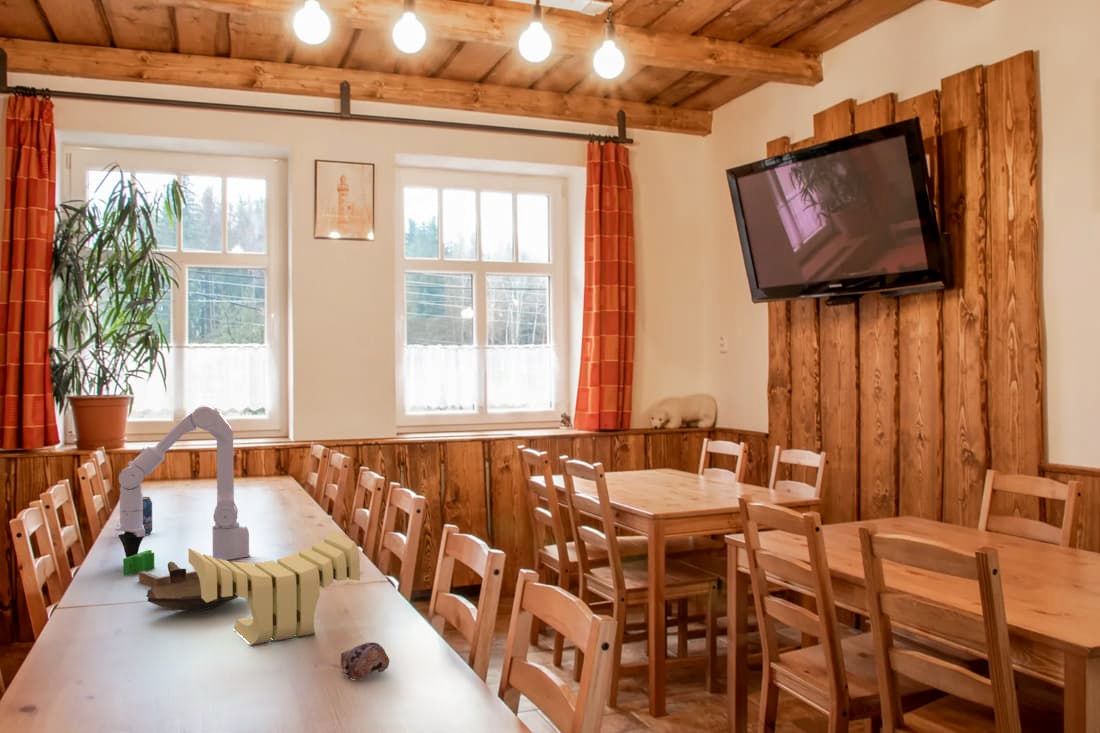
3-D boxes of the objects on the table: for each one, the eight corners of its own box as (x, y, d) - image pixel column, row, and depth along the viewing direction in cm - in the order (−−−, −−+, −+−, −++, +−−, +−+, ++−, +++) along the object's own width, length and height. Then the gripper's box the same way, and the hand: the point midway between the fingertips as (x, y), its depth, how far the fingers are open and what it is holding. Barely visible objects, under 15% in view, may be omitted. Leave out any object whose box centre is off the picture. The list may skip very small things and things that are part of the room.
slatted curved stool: (206, 657, 165) (206, 562, 165) (189, 636, 178) (188, 548, 178) (360, 630, 181) (359, 543, 181) (333, 612, 194) (332, 532, 194)
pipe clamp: (136, 576, 231) (136, 559, 231) (123, 576, 231) (123, 558, 231) (160, 566, 242) (160, 549, 242) (148, 566, 242) (147, 549, 242)
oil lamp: (142, 628, 184) (142, 592, 184) (149, 594, 212) (149, 562, 212) (255, 616, 192) (255, 581, 192) (248, 585, 220) (247, 554, 220)
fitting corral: (209, 569, 237) (209, 560, 237) (228, 576, 230) (228, 566, 230) (139, 581, 224) (138, 571, 224) (156, 589, 216) (156, 578, 216)
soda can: (146, 536, 285) (145, 499, 285) (124, 536, 285) (124, 499, 285) (156, 532, 292) (155, 496, 292) (135, 532, 292) (135, 496, 292)
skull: (330, 668, 159) (330, 634, 159) (371, 660, 163) (371, 627, 163) (353, 688, 149) (352, 652, 149) (395, 679, 153) (395, 644, 153)
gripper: (106, 509, 246) (106, 557, 246) (126, 515, 236) (126, 565, 236) (132, 506, 251) (133, 553, 251) (152, 511, 241) (153, 561, 241)
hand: (131, 559), depth 244 cm, fingers closed
